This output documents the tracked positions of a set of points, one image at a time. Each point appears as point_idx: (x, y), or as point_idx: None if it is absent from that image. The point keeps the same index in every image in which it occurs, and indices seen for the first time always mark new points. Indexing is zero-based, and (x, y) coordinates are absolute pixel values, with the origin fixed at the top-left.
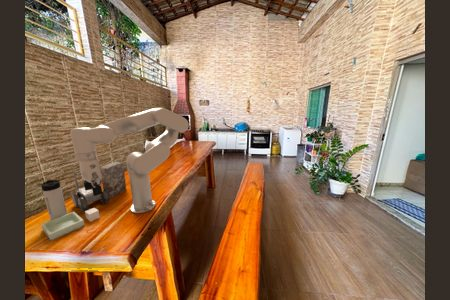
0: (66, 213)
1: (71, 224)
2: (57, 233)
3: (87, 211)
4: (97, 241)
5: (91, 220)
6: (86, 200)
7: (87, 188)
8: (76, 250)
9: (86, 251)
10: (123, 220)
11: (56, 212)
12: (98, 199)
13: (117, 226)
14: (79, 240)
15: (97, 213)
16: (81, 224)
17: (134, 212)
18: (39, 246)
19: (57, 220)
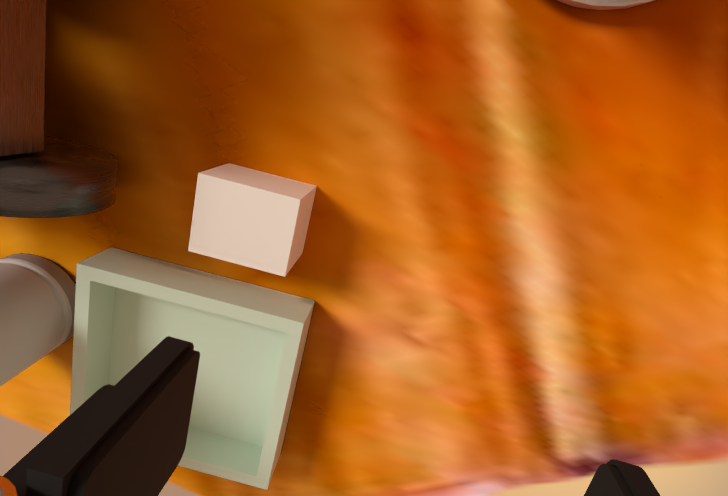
0: (39, 283)
1: (279, 386)
2: (278, 445)
3: (213, 244)
4: (587, 389)
5: (303, 246)
6: (36, 173)
7: (170, 456)
8: (525, 467)
9: (597, 459)
10: (583, 149)
11: (16, 368)
12: (39, 21)
13: (597, 231)
14: (452, 410)
15: (303, 205)
16: (307, 324)
17: (615, 8)
18: (275, 492)
19: (95, 359)
